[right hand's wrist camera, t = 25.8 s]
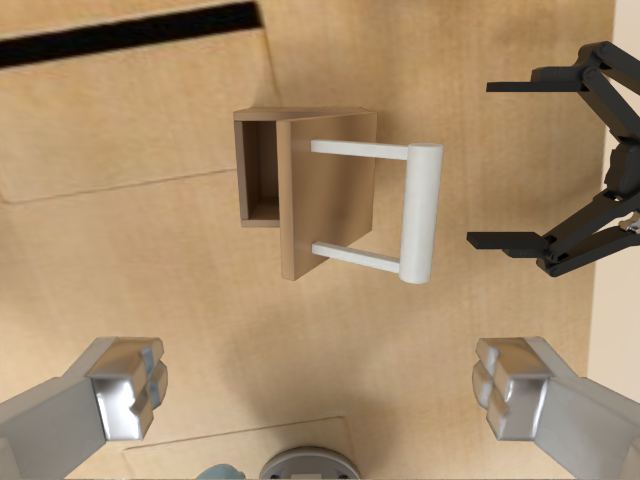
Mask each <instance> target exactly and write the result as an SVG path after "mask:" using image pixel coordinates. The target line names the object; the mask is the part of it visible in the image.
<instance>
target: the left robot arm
mask: <svg viewBox="0 0 640 480" xmlns="http://www.w3.org/2000/svg"><path fill="white" fill-rule="evenodd" d="M578 56H579V57H578V59H577V61H576V63H575V64H574V65H572V66H571V67H539V68H536V69H534V70H532V75H531V81H530V82H490V83H487V88H486V92H577V93H578V94H579V95H580V96H581V97H582V98H583V99H584V100H585V102H586V103H587V104H588V105H589V106H590V107H591V108H592V109H593V110H594V112H595V113H596V114H597V115H598V116H599V117H600V118H601V119H602V120H603V121H604V123H605V124H606V125H607V126H608V127H609V128H610V133H611V134H612V135H613V136H614V137H615V138H616V140H617V141H618V142H619V143H620V144H619V145H618V146H617V147H616V149H613V150H612V152H611V156H610V168H609V170H608V172H607V174H606V177H605V181H604V183H605V184H607V188H606V189H605V190H603V191H602V192H600V193H599V194H597V195H596V196H595V197H594V198H593V201H592V202H591V203H590V204H588V205H587V206H585V207H584V208H582V209H581V210H579V211H578V212H577V213H575V214H574V215H572V216H571V217H569V218H568V219H566V220H565V221H563V222H562V223H561V224H559V225H558V226H556V227H555V228H553V229H552V230H550V231H549V232H548V233H546V234H545V235H543V236H542V237H541V236H539V235H538V234H536V233H535V232H467V240H468V241H469V242H470V243H471V244H472V245H473V246H474V247H475V248H476V249H502V251H503V252H504V253H505V254H507V255H508V256H510V257H512V258H537V260H536V264H537V266H538V267H540V268H541V269H542V270H543V271H545V272H546V273H547V274H548V275H550V276H551V277H557V276H560V275H562V274H565V273H567V272H569V271H572V270H574V269H577V268H579V267H582V266H584V265H586V264H589V263H591V262H594V261H596V260H598V259H601V258H603V257H606V256H608V255H611V254H613V253H615V252H618V251H620V250H623V249H625V248H627V247H630V246H639V245H640V117H639V116H638V115H637V114H636V113H635V111H634V110H633V109H632V108H631V107H630V106H629V105H628V103H627V102H626V101H625V100H624V99H623V98H622V96H621V95H620V94H619V93H618V92H617V91H616V90H615V88H614V87H613V86H612V85H611V84H610V83H609V81H608V80H607V79H606V78H605V77H604V76H603V75H602V73H604V74H605V75H607V76H609V77H610V78H612V79H614V80H615V81H617V82H618V83H620V84H622V85H623V86H625V87H627V88H628V89H630V90H631V91H633V92H635V93H636V94H638V95H640V61H639V60H637V59H636V58H634V57H633V56H631V55H629V54H628V53H626V52H625V51H623V50H621V49H620V48H618V47H617V46H615V45H614V44H612V43H610V42H608V41H604V42H598V43H592V44H587V45H584V46H582V47H581V48H580V49H579V52H578ZM601 72H602V73H601ZM616 198H617V199H618V200H619V201H615V199H616ZM631 212H634V214H633V216H632V217H631V218H630V219H628V220H625V221H620V222H619V224H618V225H619V226H613V227H610V228H607V229H604V230H602V231H599V232H597V233H595V234H593V233H594V232H596V231H597V230H599V229H600V228H602V227H603V226H605V225H606V224H608V223H609V222H611V221H612V220H614V219H615V218H619V217H624V216H626V215H628V214H629V213H631ZM591 234H592V235H591ZM196 479H246V478H245V475H244V473H243V472H242V471H241V472H239V471H238V470H236V469H235V468H234V467H233V466H231V465H228V464H219V465H215V466H213V467H211V468H209V469H207V470H206V471H204V472H203V473H201V474H200V475H199V476H198V477H197V478H196ZM259 479H361V476H360V474H359V472H358V470H357V468H356V467H355V466H354V464H353V463H352V462H351V461H349V460H348V459H347V458H345V457H344V456H342V455H341V454H339V453H336V452H334V451H331V450H328V449H324V448H317V447H302V448H296V449H292V450H288V451H285V452H283V453H281V454H279V455H277V456H275V457H274V458H273V459H271V460H270V461H269V462H268V463H267V464H266V465H265V466H264V468H263V469H262V471H261V473H260V476H259Z"/></svg>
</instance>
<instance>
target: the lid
mask: <svg viewBox="0 0 640 480" xmlns="http://www.w3.org/2000/svg"><path fill="white" fill-rule="evenodd" d="M276 128H277V155H278V183H279V210H280V237H281V264H282V278H285V279H288V280H292V281H295V280H297V279H298V278H300V277H301V276H303V275H304V274H306V273H307V272H309V271H310V270H312V269H313V268H315V267H316V266H318V265H320V264H321V263H323V262H324V261H326V260H327V259H329V258H330V257H331V258H335V259H339V260H343V261H348V262H352V263H356V264H360V265H365V266H369V267H373V268H377V269H382V270H386V271H390V272H394V273H399V278H400V279H401V280H403V281H405V282H408V283H413V284H422V283H426V282H428V281H429V280H430V274H431V265H432V255H433V245H434V236H435V226H436V217H437V207H438V197H439V188H440V178H441V169H442V159H443V149H444V146H443V145H442V144H438V143H425V142H420V143H410V144H408V145H396V144H381V143H376V131H377V112H360V113H350V114H340V115H330V116H319V117H309V118H299V119H289V120H278V121H276ZM375 157H377V158H389V159H400V160H407V167H406V180H405V194H404V207H403V221H402V235H401V248H400V259H398V258H393V257H388V256H384V255H379V254H374V253H370V252H365V251H360V250H356V249H351V248H347V246H349V245H350V244H352V243H353V242H355V241H356V240H358V239H359V238H361V237H362V236H364V235H365V234H367V233H368V232H370V231H371V230H372V217H373V195H374V174H375Z"/></svg>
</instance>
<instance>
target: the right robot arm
mask: <svg viewBox="0 0 640 480" xmlns="http://www.w3.org/2000/svg"><path fill="white" fill-rule="evenodd" d="M163 353H164V348H163V343H162V340H161V339H159V338H149V337H100V338H96V339H95V341H94V342H93V343H92V344H91V345H90V346H89V347H88V348H87V349H86V350H85V351H84V353H83V354H82V355H81V356H80V357H79V358H78V359H77V360H76V361H75V362H74V363H73V365H72V366H71V367H70V368H69V369H68V370H67V371H66V372H65V373H64V374H63V375H62V377H54V378H52V379H50V380H48V381H46V382H44V383H41V384H39V385H37V386H35V387H33V388H31V389H29V390H27V391H25V392H23V393H21V394H19V395H17V396H15V397H13V398H11V399H9V400H7V401H5V402H3V403H1V404H0V480H640V404H639V403H637V402H635V401H633V400H631V399H629V398H627V397H625V396H623V395H621V394H619V393H617V392H615V391H613V390H611V389H609V388H607V387H605V386H603V385H601V384H598V383H596V382H594V381H592V380H590V379H588V378H586V377H578V375H577V374H576V373H575V372H574V371H573V370H572V369H571V368H570V367H569V366H568V365H567V363H566V362H565V361H564V360H563V359H562V358H561V357H560V356H559V355H558V354H557V353H556V351H555V350H554V349H553V348H552V347H551V346H550V345H549V344H548V343H547V342H546V340H545V339H543V338H541V337H519V338H480V339H479V341H478V343H477V347H476V353H477V355H478V357H479V359H480V360H479V361H478V363H477V364H476V365H475V366H474V367H473V374H472V383H473V390H474V394H475V397H476V399H477V401H478V403H479V405H480V406H482V407H483V408H485V409H486V410H487V417H486V419H487V421H488V423H489V425H490V427H491V429H492V431H493V433H494V435H495V437H496V438H497V440H502V441H534V444H536V445H537V446H538V447H539V448H541V449H542V450H543V451H544V452H545V453H547V454H548V455H549V456H550V457H551V458H553V459H554V460H555V461H556V462H557V463H559V464H560V465H561V466H562V467H563V468H565V469H566V470H567V471H568V472H569V473H571V474H572V475H573V476H574V477H575V478H577V479H63V478H65V477H66V476H67V475H68V474H69V473H71V472H72V471H73V470H74V469H76V468H77V467H78V466H79V465H80V464H82V463H83V462H84V461H85V460H86V459H88V458H89V457H90V456H91V455H92V454H94V453H95V452H96V451H97V450H98V449H100V448H101V447H102V446H103V445H104V444H106V441H137V440H143V439H144V437H145V435H146V433H147V431H148V429H149V427H150V425H151V423H152V421H153V419H154V417H153V410H154V409H155V408H157V407H158V406H160V405H161V403H162V401H163V399H164V397H165V394H166V389H167V385H168V373H167V367H166V366H165V365H164V364H163V363H162V361H161V360H160V359H161V357H162V355H163Z"/></svg>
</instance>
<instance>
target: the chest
mask: <svg viewBox="0 0 640 480" xmlns="http://www.w3.org/2000/svg"><path fill="white" fill-rule="evenodd" d="M360 112H370V111H367V110H365V109H362V108H361V107H250V108H247V109H243V110H239V111H235V112H233V117H234V131H235V145H236V159H237V173H238V186H239V200H240V214H241V227H280V210H279V183H278V155H277V128H276V121H278V120H289V119H299V118H309V117H319V116H330V115H340V114H350V113H360Z"/></svg>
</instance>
